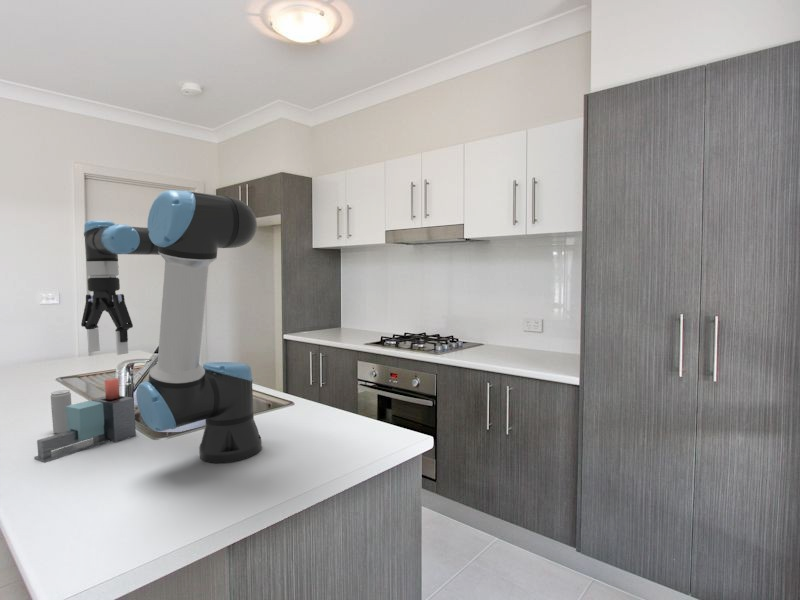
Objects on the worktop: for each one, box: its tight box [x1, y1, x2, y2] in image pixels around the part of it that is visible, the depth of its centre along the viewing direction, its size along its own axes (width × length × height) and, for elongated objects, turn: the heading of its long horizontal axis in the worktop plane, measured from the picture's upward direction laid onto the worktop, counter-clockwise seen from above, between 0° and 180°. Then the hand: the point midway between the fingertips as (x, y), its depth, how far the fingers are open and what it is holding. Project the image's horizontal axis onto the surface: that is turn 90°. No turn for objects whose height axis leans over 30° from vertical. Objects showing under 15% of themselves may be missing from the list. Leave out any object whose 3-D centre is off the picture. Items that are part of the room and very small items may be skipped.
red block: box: [104, 377, 121, 399], centre depth 131 cm, size 3×3×5 cm
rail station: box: [33, 395, 137, 463], centre depth 125 cm, size 10×22×11 cm, turn 153°
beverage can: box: [50, 389, 72, 435], centre depth 137 cm, size 5×5×12 cm
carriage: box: [66, 400, 104, 442], centre depth 125 cm, size 6×6×9 cm
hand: (108, 352), depth 130 cm, fingers open, 12 cm apart
